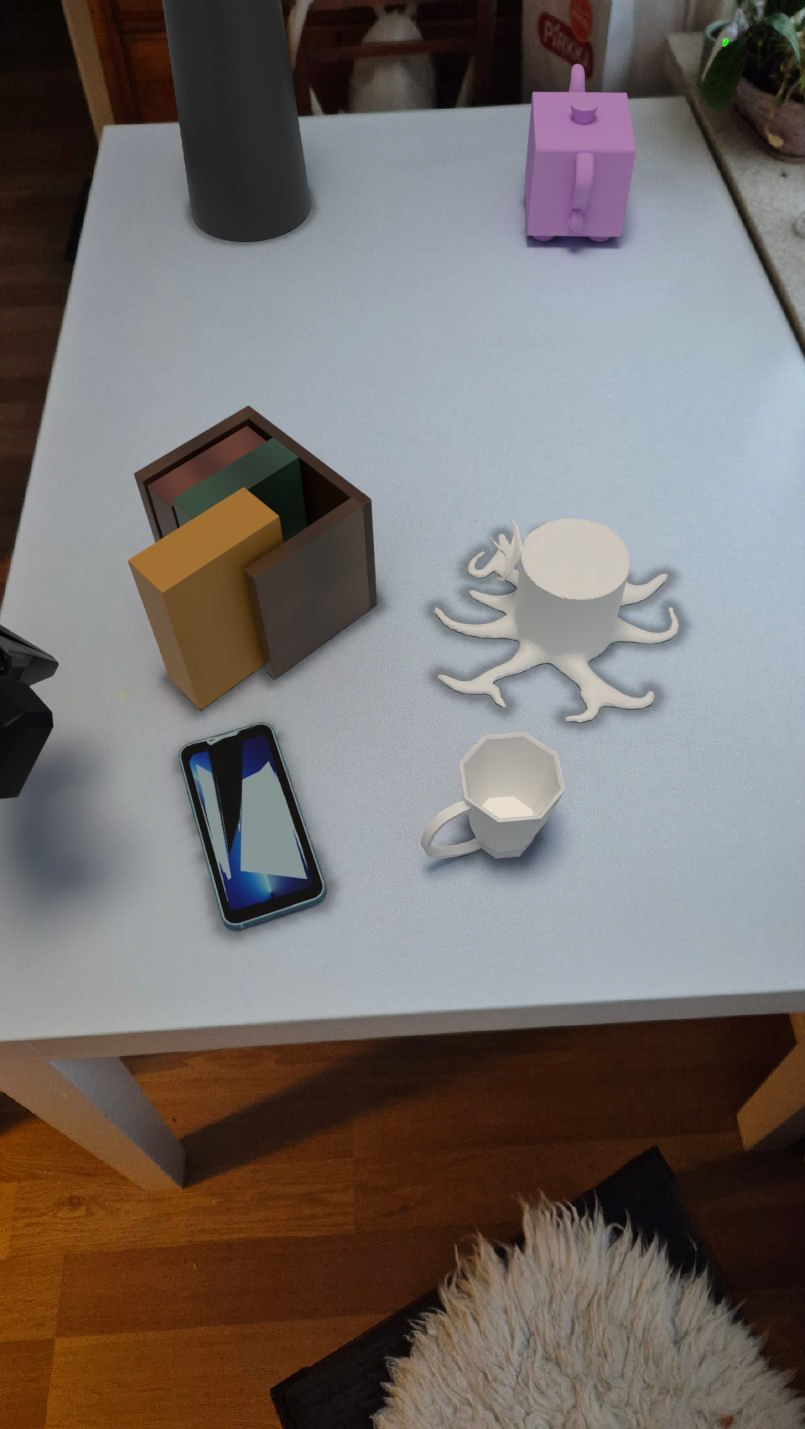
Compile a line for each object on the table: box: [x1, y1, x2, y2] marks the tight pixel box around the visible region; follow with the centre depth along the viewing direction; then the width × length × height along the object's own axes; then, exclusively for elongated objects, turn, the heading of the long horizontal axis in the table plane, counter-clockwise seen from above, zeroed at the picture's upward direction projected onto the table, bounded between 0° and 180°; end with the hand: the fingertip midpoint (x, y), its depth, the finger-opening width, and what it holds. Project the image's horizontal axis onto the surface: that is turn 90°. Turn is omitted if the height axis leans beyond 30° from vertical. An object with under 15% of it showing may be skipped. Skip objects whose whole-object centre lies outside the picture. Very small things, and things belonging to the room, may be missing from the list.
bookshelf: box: [133, 405, 378, 680], centre depth 79 cm, size 11×14×13 cm
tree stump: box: [433, 517, 680, 723], centre depth 78 cm, size 20×19×8 cm
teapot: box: [524, 63, 637, 243], centre depth 109 cm, size 20×10×12 cm, turn 177°
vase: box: [161, 0, 311, 242], centre depth 104 cm, size 14×14×29 cm
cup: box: [420, 731, 566, 860], centre depth 68 cm, size 7×10×8 cm
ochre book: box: [127, 487, 283, 711], centre depth 75 cm, size 10×4×14 cm, turn 133°
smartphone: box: [177, 722, 327, 930], centre depth 72 cm, size 7×1×15 cm
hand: (53, 666), depth 66 cm, fingers closed
